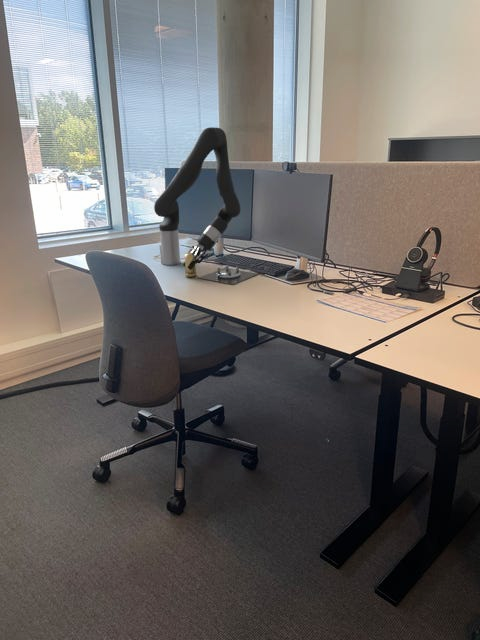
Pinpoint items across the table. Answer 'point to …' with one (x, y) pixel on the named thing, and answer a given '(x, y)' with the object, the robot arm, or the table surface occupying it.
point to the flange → (228, 276)
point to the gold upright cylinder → (188, 259)
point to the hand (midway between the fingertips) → (186, 267)
